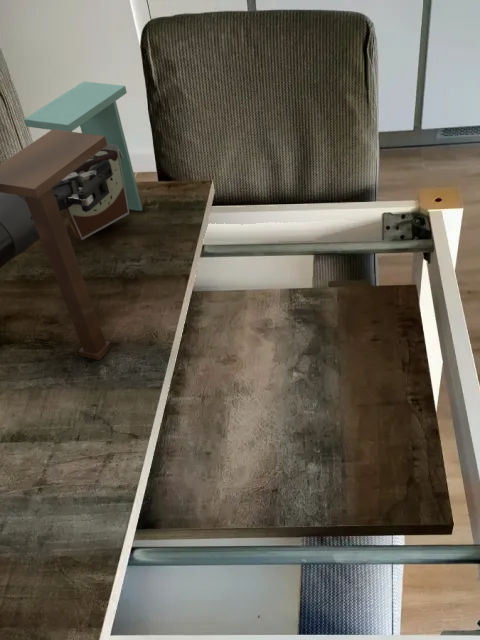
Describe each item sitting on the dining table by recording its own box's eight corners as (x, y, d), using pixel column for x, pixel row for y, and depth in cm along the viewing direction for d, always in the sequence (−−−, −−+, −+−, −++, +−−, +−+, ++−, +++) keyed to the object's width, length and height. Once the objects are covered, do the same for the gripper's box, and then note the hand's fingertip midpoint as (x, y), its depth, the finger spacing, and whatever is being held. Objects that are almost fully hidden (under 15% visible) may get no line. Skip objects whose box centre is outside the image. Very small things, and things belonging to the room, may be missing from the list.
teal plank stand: (65, 237, 99) (23, 119, 86) (115, 194, 108) (83, 81, 95) (104, 245, 97) (68, 124, 84) (152, 200, 106) (125, 85, 93)
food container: (109, 200, 104) (91, 135, 97) (136, 209, 101) (120, 144, 94) (46, 233, 97) (22, 166, 90) (73, 244, 94) (50, 176, 87)
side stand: (51, 352, 81) (-23, 179, 65) (106, 295, 89) (52, 129, 72) (98, 363, 79) (34, 188, 63) (150, 304, 87) (105, 135, 71)
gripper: (50, 198, 79) (123, 142, 90) (-45, 182, 83) (36, 131, 94) (69, 253, 85) (135, 194, 95) (-21, 236, 88) (53, 181, 99)
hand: (86, 163), depth 94 cm, fingers closed on food container, 7 cm apart
